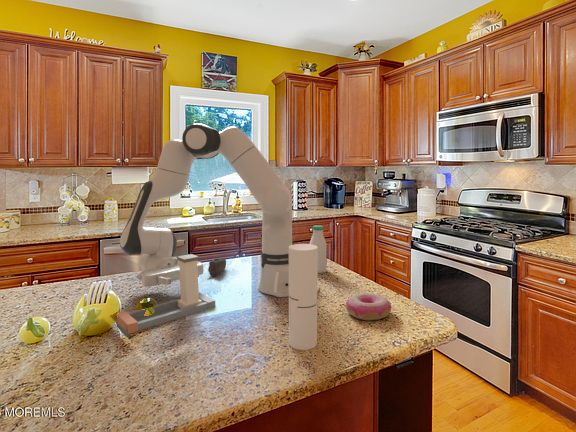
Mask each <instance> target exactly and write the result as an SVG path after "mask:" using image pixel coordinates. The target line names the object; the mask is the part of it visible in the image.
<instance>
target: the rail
mask: <svg viewBox="0 0 576 432" xmlns="http://www.w3.org/2000/svg"><path fill="white" fill-rule="evenodd" d="M199 299H200V300H202V303H200V304H196V305H193V306H190V307H186V308H183V309H181V308H179V307H178V300H181V297H179V298H176V299H172V300H169V301H165V302H162V303H158V304H155V305H156V306H155V307H153V308H154V309H155V313H154V314H153V315H149V316H144V314H145V312H146V310H147V309H145V310H139V309H137V310H132V311H128V312H127V311H126V310H122V311H119V314H118V315H117V316H118V317H117V320H115V322H116V328H117V329H118V330H119V331H121V333H122V334H123V335H124V336H125V337H126V338H127V339H128V340H132V339H133V337H132V336H131V335H130V334H132V333H136V332H139V331H142V330H146V329H149V328H152V327H156V326H159V325H162V324H164V323H168V322H172V321H174V320H177V319H180V318H184V317H188V316H190V315H193V314H197V313H200V312H203V311H207V310H210V309H213V308H216V300H215V299H214V298H211V297H209V296H207V295H206V294H204V293H201V292H199Z"/></svg>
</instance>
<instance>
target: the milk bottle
mask: <svg viewBox="0 0 576 432" xmlns="http://www.w3.org/2000/svg"><path fill="white" fill-rule="evenodd" d="M309 244H311V245H316V246H317V247H318V266H317V274H322V273H325V272H326V271H327V268H328V267H327V261H328V260H327V259H328V258H327V257H328V254H327V251H328V248H327V240H326V238H325V236H324V226H323V225H320V224H319V225H313V226H312V235H311V239H310V241H309Z"/></svg>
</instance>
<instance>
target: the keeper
mask: <svg viewBox="0 0 576 432" xmlns="http://www.w3.org/2000/svg"><path fill="white" fill-rule="evenodd" d="M176 257H177V260H179V271H180V280H179V288H180V290H179V291H180V298H181V300H178V307H179V308H181V309H183V308H186V307H190V306H193V305H196V304H200V303H202V300H200V299H199V277H198V266H197V261H199V260H200V256H198V255H196V254H193V253H190V254H189V253H188V254H185V255H178V256H176Z"/></svg>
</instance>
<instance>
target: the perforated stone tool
mask: <svg viewBox="0 0 576 432" xmlns="http://www.w3.org/2000/svg"><path fill="white" fill-rule="evenodd" d="M208 265H209V266H208V268H207V271H208V273H209V275H210V276H211V277H219V276H220V275H221V274H222V273H224V271H225V269H226V266H227V260H226V258H225V257H222V256H221V257H217V258H214V259H211V261H209V262H208Z"/></svg>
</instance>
